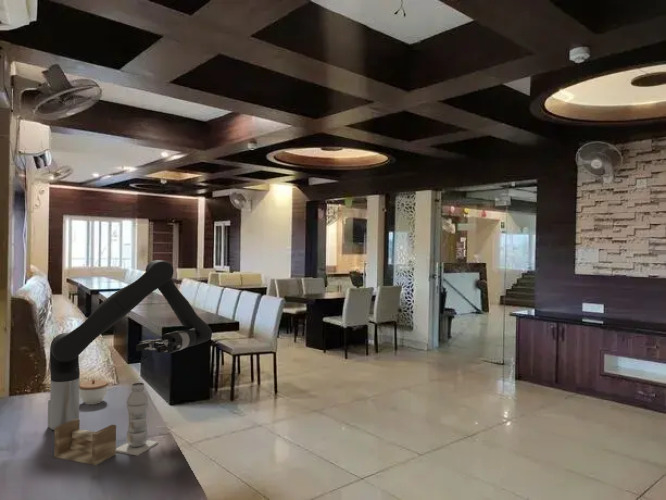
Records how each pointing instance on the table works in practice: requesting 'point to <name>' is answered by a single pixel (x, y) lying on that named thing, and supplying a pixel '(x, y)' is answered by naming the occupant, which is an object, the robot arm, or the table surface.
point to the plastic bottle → (137, 416)
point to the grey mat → (135, 448)
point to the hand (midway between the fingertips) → (146, 349)
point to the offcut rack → (84, 443)
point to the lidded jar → (93, 391)
